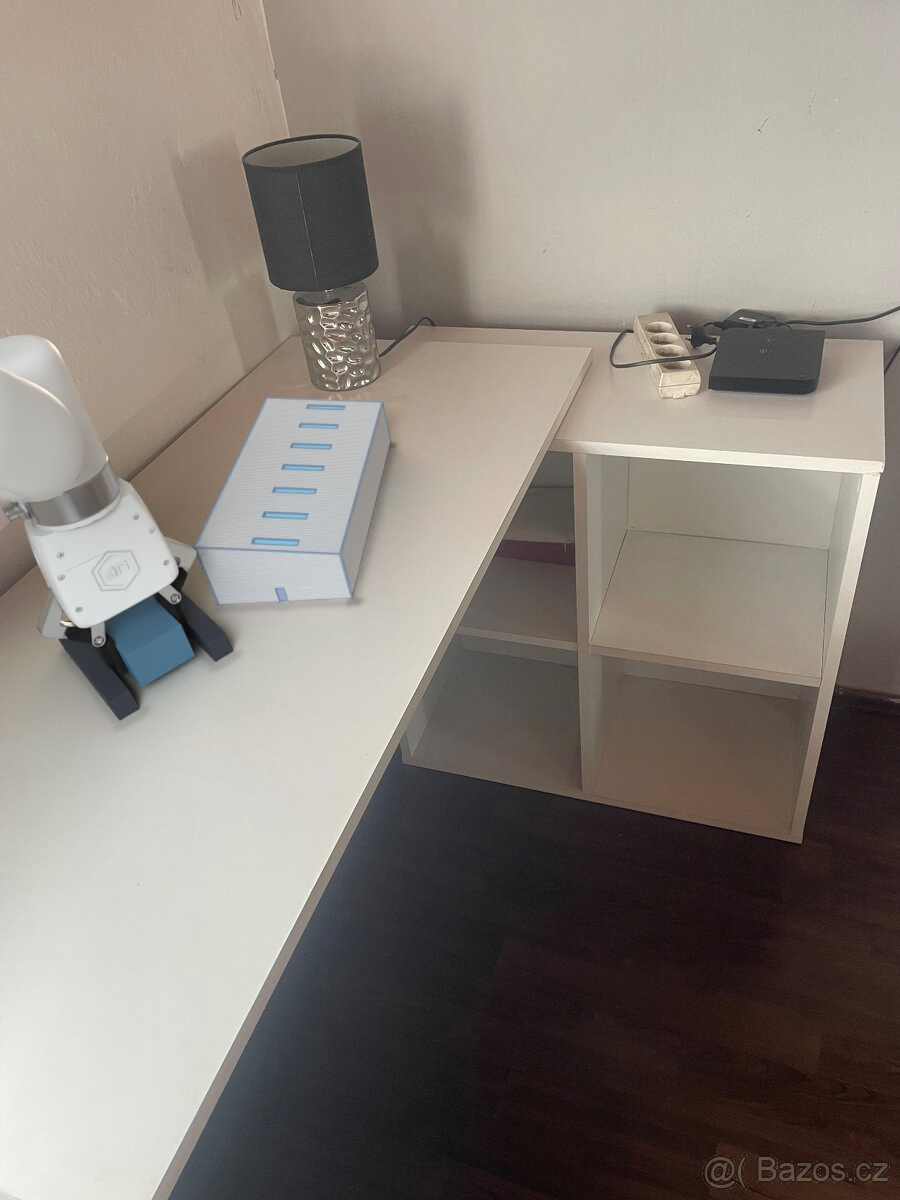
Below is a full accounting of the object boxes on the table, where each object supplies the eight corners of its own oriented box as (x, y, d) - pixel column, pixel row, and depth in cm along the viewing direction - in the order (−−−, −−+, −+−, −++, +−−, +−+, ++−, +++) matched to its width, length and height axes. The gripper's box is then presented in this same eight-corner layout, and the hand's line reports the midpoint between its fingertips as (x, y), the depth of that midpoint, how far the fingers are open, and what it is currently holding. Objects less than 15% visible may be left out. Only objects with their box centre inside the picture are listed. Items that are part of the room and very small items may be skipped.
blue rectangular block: (141, 688, 79) (125, 657, 77) (109, 649, 84) (92, 619, 81) (195, 655, 82) (181, 624, 79) (160, 619, 86) (146, 589, 84)
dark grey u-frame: (119, 721, 78) (108, 702, 77) (64, 648, 87) (53, 630, 86) (233, 651, 84) (225, 632, 82) (169, 589, 92) (161, 571, 91)
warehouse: (352, 598, 87) (336, 538, 82) (217, 605, 89) (193, 547, 84) (391, 441, 109) (380, 387, 104) (282, 450, 112) (266, 397, 107)
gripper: (-20, 559, 65) (80, 719, 76) (183, 460, 72) (246, 620, 84) (-48, 521, 69) (50, 677, 81) (146, 432, 77) (210, 587, 88)
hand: (149, 647), depth 82 cm, fingers closed on blue rectangular block, 5 cm apart
